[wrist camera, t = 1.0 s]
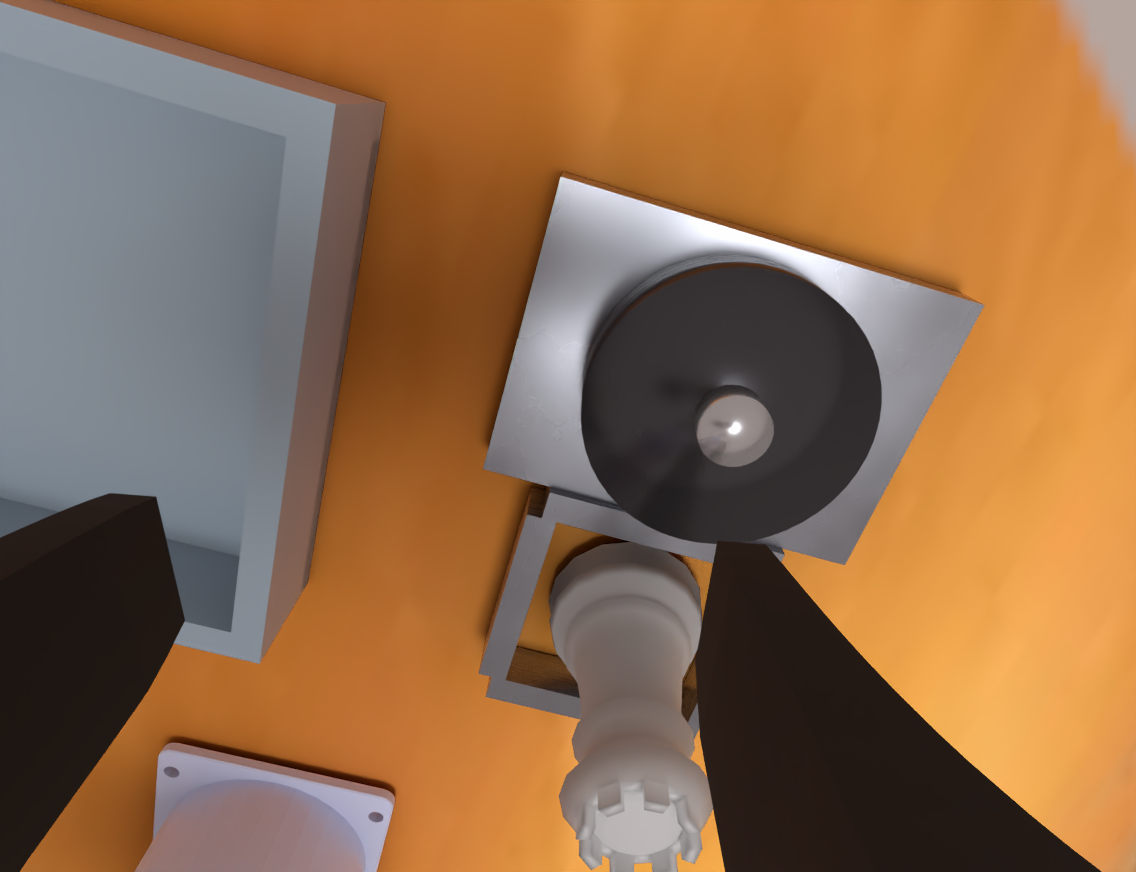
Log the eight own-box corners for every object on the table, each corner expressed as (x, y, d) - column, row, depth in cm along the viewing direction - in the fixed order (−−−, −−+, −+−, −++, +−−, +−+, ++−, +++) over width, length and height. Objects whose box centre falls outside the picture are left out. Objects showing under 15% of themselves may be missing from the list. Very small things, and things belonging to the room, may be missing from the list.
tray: (308, 582, 22) (259, 663, 19) (-168, 464, 21) (-305, 530, 18) (385, 102, 16) (335, 104, 13) (-257, -94, 15) (-483, -145, 12)
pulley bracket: (737, 721, 24) (761, 820, 20) (436, 647, 23) (409, 739, 20) (960, 292, 18) (1043, 336, 14) (562, 171, 17) (555, 189, 14)
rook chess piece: (527, 555, 21) (494, 790, 14) (676, 514, 21) (720, 740, 13) (577, 669, 23) (569, 930, 16) (716, 634, 22) (774, 893, 15)
